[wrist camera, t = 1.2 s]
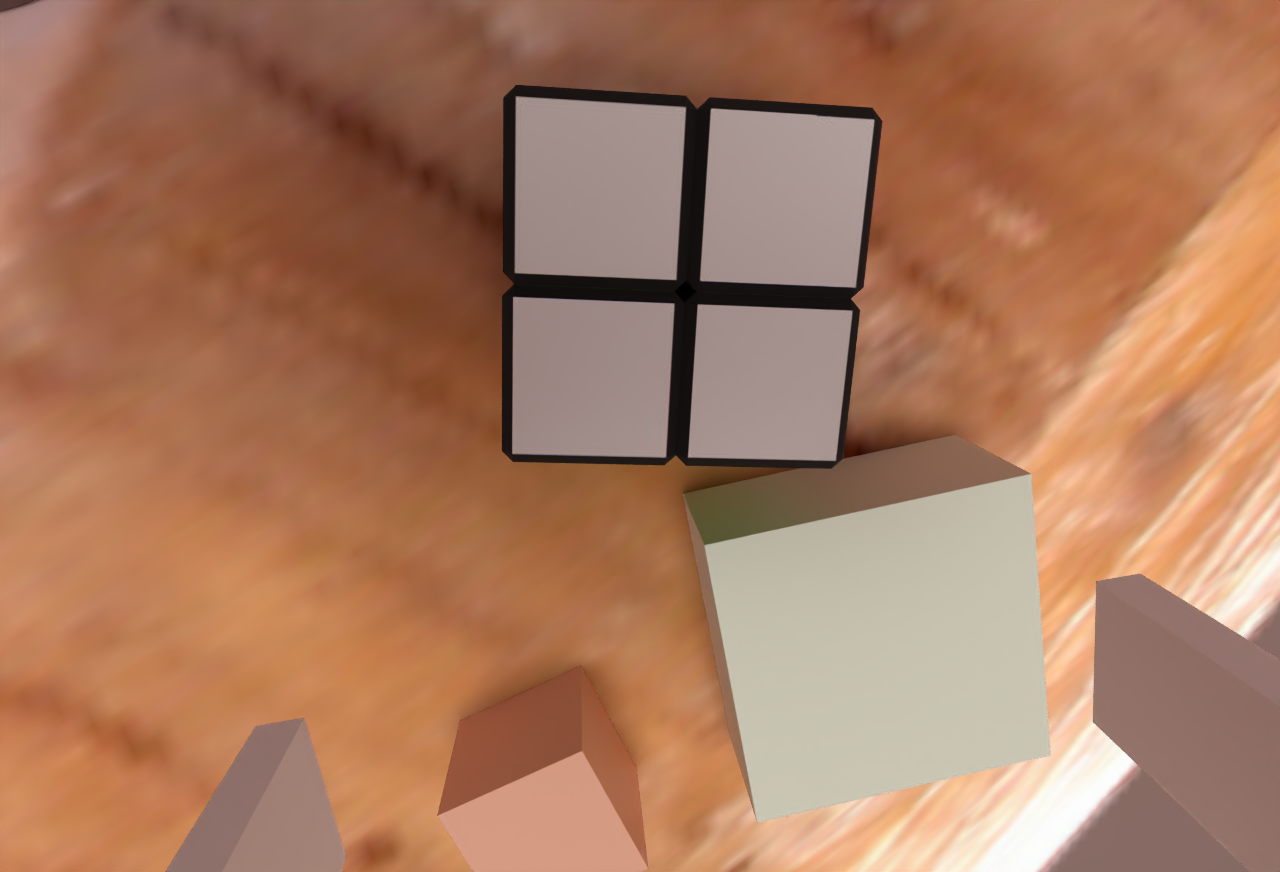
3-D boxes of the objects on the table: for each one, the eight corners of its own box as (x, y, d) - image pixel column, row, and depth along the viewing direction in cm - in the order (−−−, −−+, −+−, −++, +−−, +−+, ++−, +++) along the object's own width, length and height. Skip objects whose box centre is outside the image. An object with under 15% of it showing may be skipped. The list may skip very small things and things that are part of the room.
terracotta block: (460, 719, 35) (437, 816, 29) (581, 665, 35) (581, 750, 29) (520, 819, 37) (510, 929, 31) (636, 767, 36) (648, 868, 31)
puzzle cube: (787, 147, 30) (888, 105, 20) (766, 402, 32) (846, 472, 23) (525, 132, 29) (500, 81, 19) (523, 395, 32) (500, 466, 22)
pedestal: (681, 491, 33) (704, 545, 28) (952, 432, 34) (1031, 473, 28) (728, 729, 36) (757, 822, 31) (975, 673, 37) (1050, 755, 31)
